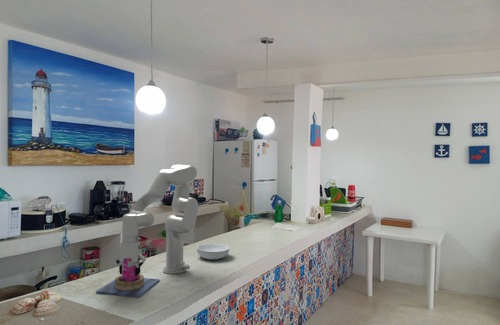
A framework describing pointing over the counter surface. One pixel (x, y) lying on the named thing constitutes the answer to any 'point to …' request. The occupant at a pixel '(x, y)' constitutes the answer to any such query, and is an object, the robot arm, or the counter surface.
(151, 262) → the counter surface
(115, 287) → the collar
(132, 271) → the supplement box
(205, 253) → the serving bowl
